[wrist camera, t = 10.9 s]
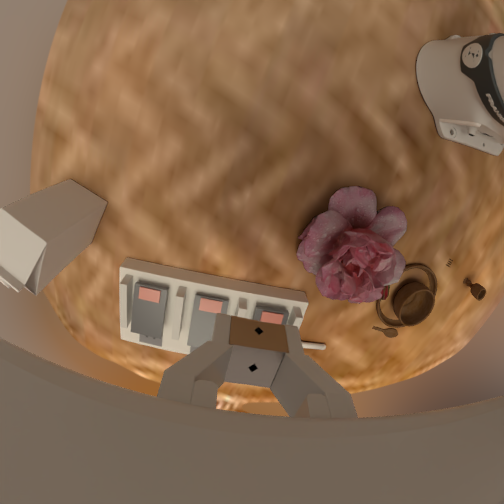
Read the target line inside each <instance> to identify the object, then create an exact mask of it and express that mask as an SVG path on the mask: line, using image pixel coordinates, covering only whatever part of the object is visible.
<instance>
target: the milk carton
mask: <svg viewBox="0 0 504 504" xmlns="http://www.w3.org/2000/svg"><path fill="white" fill-rule="evenodd" d="M106 205H107V201H105V200H104V199H102V198H100V197H99V196H97V195H95V194H94V193H92V192H91V191H89V190H87V189H86V188H84V187H83V186H81V185H79V184H78V183H76V182H75V181H73V180H71V179H69V180H66V181H63V182H61V183H58V184H56V185H53V186H51V187H48V188H46V189H43V190H41V191H38V192H36V193H34V194H31V195H29V196H27V197H24V198H22V199H20V200H18V201H15V202H13V203H11V204H9V205H7V206H5V207H3V208H1V209H0V282H2V283H3V284H4V285H5V286H7V287H8V288H10V287H12V288H13V289H15V290H16V291H17V292H19V291H20V290H22V289H23V288H24V287H25V288H26V289H27V290H29V291H30V292H31V293H33V294H34V295H37V294H38V293H39V292H40V291H41V290H42V289H43V288H44V287H45V286H46V285H47V284H48V283H49V282H50V281H51V280H52V279H53V278H54V277H55V276H57V275H58V274H59V273H60V272H61V271H62V270H63V269H64V268H65V267H66V266H67V265H68V264H69V263H70V262H71V261H72V260H73V259H75V258H76V257H77V256H78V255H79V254H80V253H81V252H82V251H83V250H85V249H86V248H87V247H88V246H89V245H90V244H91V243H92V240H93V237H94V235H95V232H96V230H97V227H98V224H99V222H100V220H101V217H102V215H103V212H104V210H105V208H106Z"/></svg>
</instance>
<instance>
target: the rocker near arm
mask: <svg viewBox="0 0 504 504" xmlns="http://www.w3.org/2000/svg"><path fill="white" fill-rule="evenodd" d="M288 317H289V312H288V310H284V309H278V308H272V307H266V306H260V305H256V306H255V310H254V314H253V318H252V320H257V321H262V322H268V323H275V324H281V325H286V324H287V320H288Z"/></svg>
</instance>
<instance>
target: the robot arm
mask: <svg viewBox="0 0 504 504" xmlns="http://www.w3.org/2000/svg"><path fill="white" fill-rule="evenodd" d="M416 72H417V80H418V84H419V88H420V91H421V93H422V96H423V98H424V100H425V102H426V104H427V106H428V107H429V109H430V111H431V112H432V114H433V116H434V119H435V123H436V128H437V131H438V134H439V135H440V137H442V138H444V139H447V140H450V141H453V142H456V143H460V144H463V145H466V146H469V147H472V148H474V149H477V150H480V151H483V152H486V153H488V154H491V155H495V156H498V155H499V154H500V153H501V151H502V150H503V148H504V34H502V33H498V34H495V33H492V34H489V35H484V36H469V37H460V36H459V35H452V36H450V37H448V38H447V39H446V40H433V41H430V42H428V43H426V44H425V45H424V46H423V47H422V49H421V50H420V52H419V55H418V58H417V64H416ZM450 131H451V134H450ZM224 382H231V383H239V384H248V385H254V386H261V387H268V388H270V389H271V391H272V392H273V394H274V395H275V397H276V398H277V399H278V401H279V402H280V404H281V405H282V406H283V408H284V409H285V410H286V412H287V413H288V415H289V416H290V417H283V416H269V415H260V414H250V413H242V412H234V411H227V410H220V409H216V399H217V389H218V388H219V387H220V386H221V385H222V384H223V383H224ZM0 504H504V396H499V397H496V398H492V399H489V400H484V401H481V402H476V403H472V404H467V405H462V406H458V407H452V408H447V409H441V410H435V411H428V412H421V413H413V414H405V415H394V416H383V417H367V418H358V417H357V413H356V410H355V407H354V404H353V401H352V397H351V394H350V393H349V392H347V391H346V390H345V389H344V388H343V387H342V386H341V385H340V384H339V383H337V382H336V381H335V380H334V379H333V378H332V377H331V376H330V375H329V374H328V373H326V372H325V371H324V370H323V369H322V368H321V367H320V366H319V365H318V364H317V363H316V362H315V361H313V360H312V359H311V358H310V357H309V356H307V355H304V351H303V346H302V342H301V338H300V333H299V329H298V327H297V326H293V325H281V324H275V323H268V322H262V321H257V320H252V319H247V318H242V317H237V316H232V315H231V316H230V315H227V314H222V313H217V314H216V319H215V324H214V329H213V334H212V339H211V341H207V342H205V343H204V344H203V345H201V346H200V347H198V348H197V349H195V350H194V351H193V352H191V353H190V354H188V355H187V356H185V357H184V358H182V359H181V360H180V361H178V362H177V363H175V364H174V365H172V366H171V367H169V368H168V369H166V370H165V371H164V374H163V378H162V381H161V384H160V388H159V391H158V395H157V397H155V396H151V395H147V394H143V393H140V392H136V391H133V390H129V389H125V388H122V387H119V386H116V385H112V384H109V383H106V382H103V381H100V380H97V379H94V378H91V377H89V376H86V375H83V374H80V373H78V372H75V371H72V370H70V369H67V368H65V367H62V366H60V365H57V364H55V363H53V362H50V361H48V360H46V359H43V358H41V357H39V356H36V355H35V354H32V353H30V352H28V351H26V350H24V349H22V348H20V347H18V346H16V345H14V344H12V343H10V342H8V341H6V340H4V339H2V338H1V337H0Z"/></svg>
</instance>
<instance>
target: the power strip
mask: <svg viewBox="0 0 504 504" xmlns="http://www.w3.org/2000/svg"><path fill="white" fill-rule="evenodd" d="M137 281H139V282H144V283H148V284H153V285H157V286H162V287H166V288H169V290H168V297H167V305H166V312H165V320H164V329H163V336H162V338H161V339H159V338H154V337H150V336H146V335H142V334H137V333H133V332H131V318H132V306H133V295H134V286H135V283H136V282H137ZM196 293H197V294H202V295H207V296H212V297H218V298H223V299H228V300H229V304H228V309H227V315H230V316H231V315H232V316H237V317H242V318H247V319H252V318H253V314H254V310H255V306H256V305H260V306H266V307H272V308H278V309H284V310H288V312H289V317H288V320H287V324H286V325H293V326H297V327H298V329H299V328H300V326H301V323H302V321H303V316H304V314H305V311H306V309H307V306H308V300H307V297H306V295H305V292H302V291H297V290H291V289H285V288H279V287H274V286H268V285H263V284H257V283H252V282H246V281H241V280H236V279H230V278H225V277H220V276H215V275H210V274H205V273H199V272H194V271H190V270H185V269H180V268H175V267H170V266H165V265H160V264H156V263H151V262H146V261H142V260H137V259H132V258H128V257H127V258H126V259H125V261H124V262H123V263H122V264H121V266H120V330H121V339H123V340H127V341H130V342H134V343H138V344H142V345H147V346H151V347H155V348H159V349H164V350H169V351H173V352H178V353H183V354H190V353H191V352H193V351H194V350H195V349H197V348H198V347H193V346H188V345H187V341H188V335H189V328H190V322H191V316H192V310H193V304H194V299H195V294H196ZM302 346H303V348H310V349H320V350H324V349H325V348H326V345H325V344H319V343H310V342H302Z"/></svg>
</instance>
